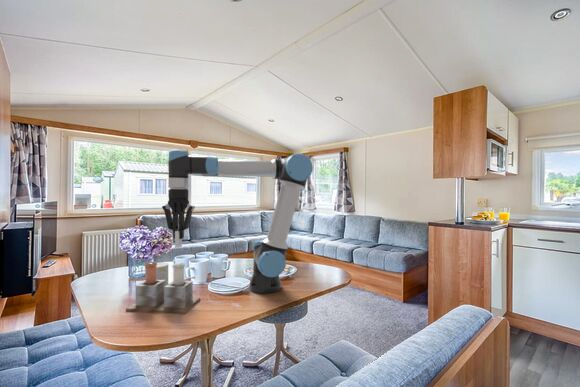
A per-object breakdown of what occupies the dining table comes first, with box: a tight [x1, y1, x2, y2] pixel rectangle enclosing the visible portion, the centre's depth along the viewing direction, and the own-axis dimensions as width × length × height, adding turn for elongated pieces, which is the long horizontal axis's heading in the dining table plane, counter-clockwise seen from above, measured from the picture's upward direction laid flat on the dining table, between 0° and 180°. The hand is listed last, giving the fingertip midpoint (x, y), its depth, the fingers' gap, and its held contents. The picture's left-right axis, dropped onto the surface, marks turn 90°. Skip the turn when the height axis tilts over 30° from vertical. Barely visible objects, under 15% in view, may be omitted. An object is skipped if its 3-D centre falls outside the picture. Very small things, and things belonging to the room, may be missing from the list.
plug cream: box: [172, 262, 186, 286], centre depth 117 cm, size 5×5×10 cm
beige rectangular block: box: [156, 262, 169, 286], centre depth 135 cm, size 8×8×12 cm
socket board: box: [125, 280, 201, 315], centre depth 118 cm, size 24×14×9 cm, turn 84°
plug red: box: [144, 261, 158, 285], centre depth 118 cm, size 5×5×10 cm
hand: (178, 246), depth 117 cm, fingers closed
